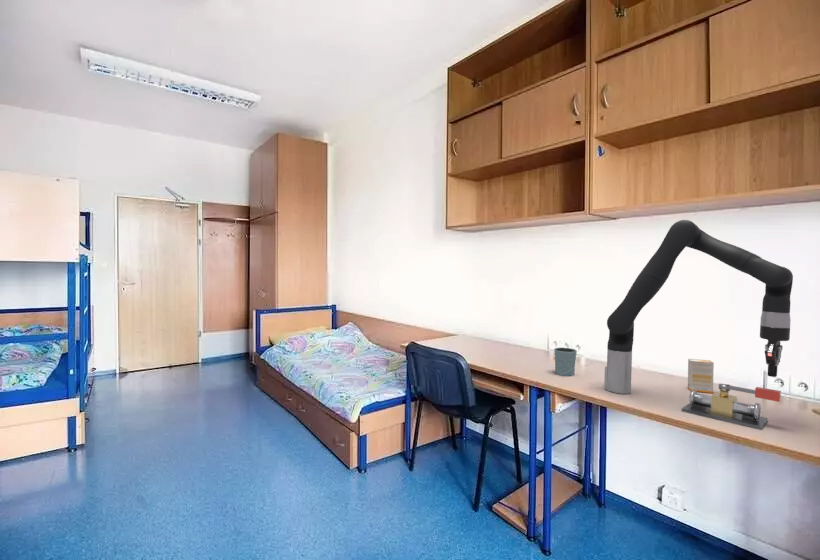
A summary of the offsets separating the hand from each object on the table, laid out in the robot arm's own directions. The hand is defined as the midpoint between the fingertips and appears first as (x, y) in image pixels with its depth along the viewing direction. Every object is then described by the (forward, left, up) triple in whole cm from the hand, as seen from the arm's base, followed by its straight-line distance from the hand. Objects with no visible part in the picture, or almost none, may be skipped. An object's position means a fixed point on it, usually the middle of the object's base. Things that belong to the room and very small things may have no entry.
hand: (772, 376), depth 138 cm
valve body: (-12, -7, -15) cm, 20 cm away
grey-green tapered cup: (-76, +3, -16) cm, 77 cm away
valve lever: (-5, -7, -6) cm, 11 cm away
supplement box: (-26, +23, -16) cm, 38 cm away
